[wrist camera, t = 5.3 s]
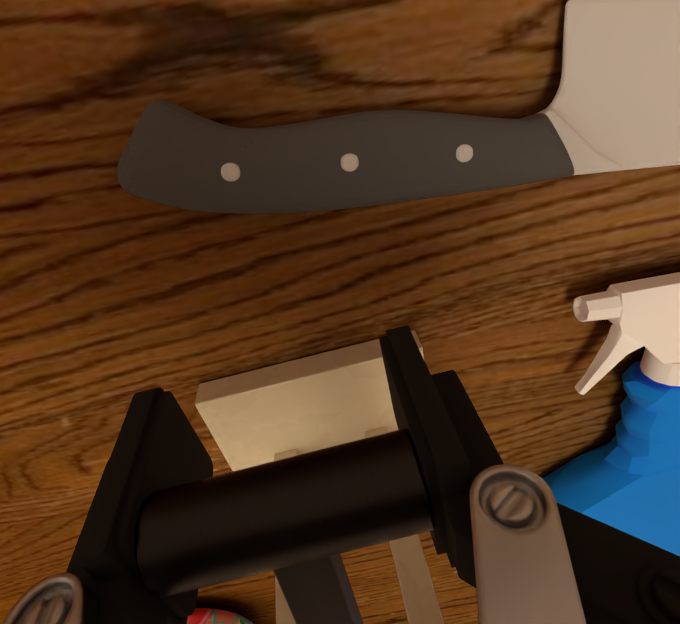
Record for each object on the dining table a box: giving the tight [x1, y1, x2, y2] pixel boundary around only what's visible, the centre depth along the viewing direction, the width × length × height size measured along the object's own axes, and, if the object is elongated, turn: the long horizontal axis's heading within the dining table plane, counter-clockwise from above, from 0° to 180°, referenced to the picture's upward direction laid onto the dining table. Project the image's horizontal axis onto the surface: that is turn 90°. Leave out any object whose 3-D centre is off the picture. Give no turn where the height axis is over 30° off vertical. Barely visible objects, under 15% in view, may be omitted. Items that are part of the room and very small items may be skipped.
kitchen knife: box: [117, 0, 680, 214], centre depth 13 cm, size 29×3×5 cm
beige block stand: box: [195, 330, 444, 624], centre depth 16 cm, size 12×9×13 cm
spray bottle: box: [542, 272, 680, 556], centre depth 23 cm, size 3×11×24 cm
